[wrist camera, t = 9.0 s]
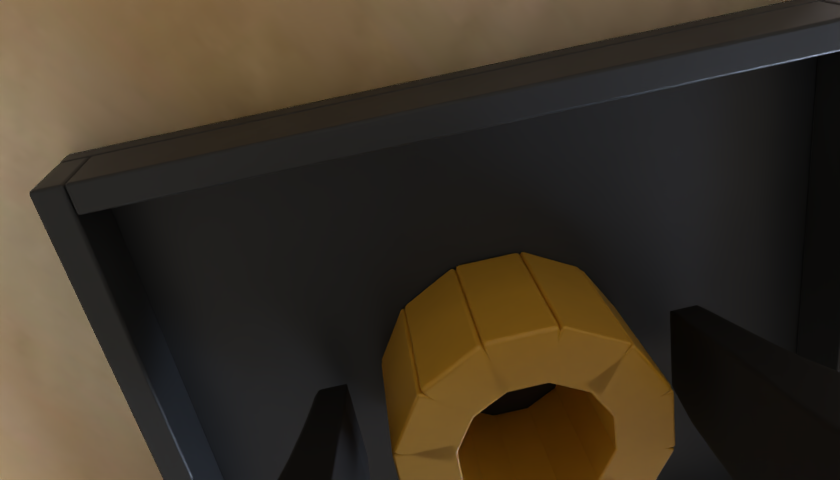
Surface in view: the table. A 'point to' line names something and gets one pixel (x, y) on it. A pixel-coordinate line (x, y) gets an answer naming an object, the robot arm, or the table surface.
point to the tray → (458, 225)
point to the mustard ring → (523, 380)
